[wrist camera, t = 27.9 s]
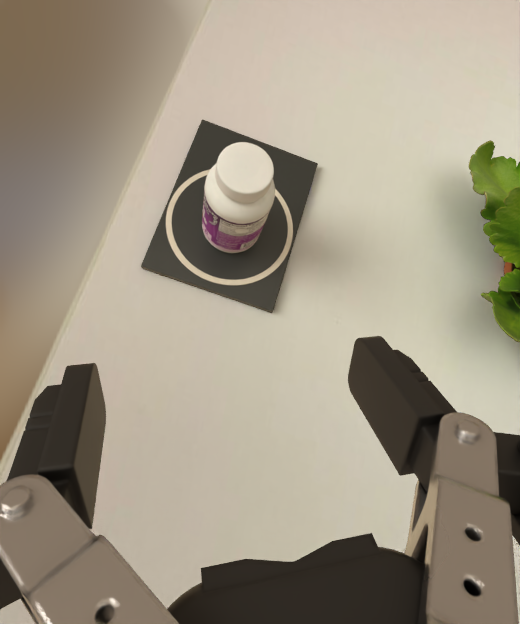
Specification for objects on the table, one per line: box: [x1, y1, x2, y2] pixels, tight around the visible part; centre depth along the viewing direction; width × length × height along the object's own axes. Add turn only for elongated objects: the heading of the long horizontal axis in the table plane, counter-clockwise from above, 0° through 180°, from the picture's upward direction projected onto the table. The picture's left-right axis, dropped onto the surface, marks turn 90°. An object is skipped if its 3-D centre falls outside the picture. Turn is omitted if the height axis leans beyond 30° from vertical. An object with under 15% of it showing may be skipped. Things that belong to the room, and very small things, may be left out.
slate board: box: [141, 120, 318, 313], centre depth 38 cm, size 16×12×1 cm
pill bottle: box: [202, 142, 275, 253], centre depth 32 cm, size 5×5×10 cm
